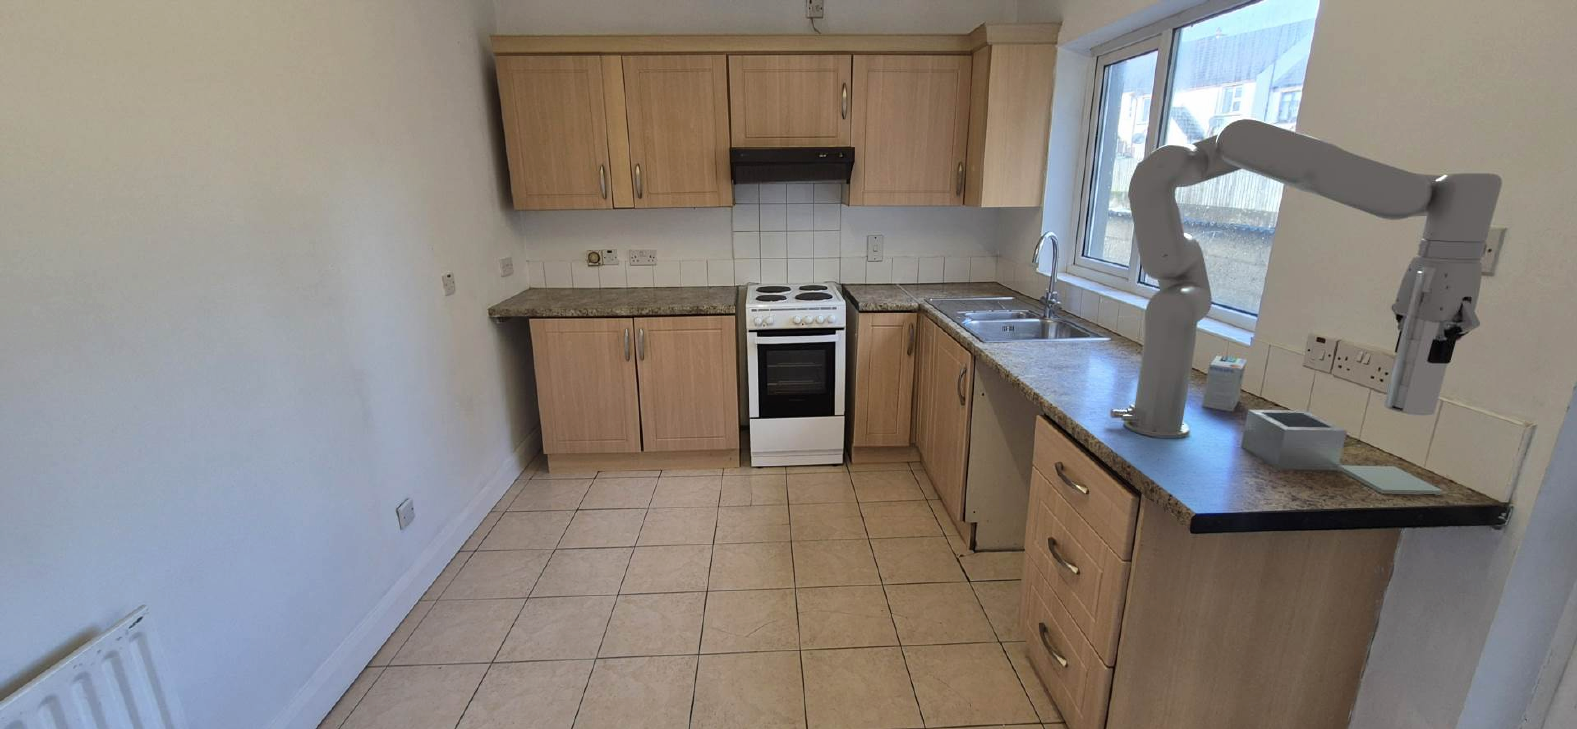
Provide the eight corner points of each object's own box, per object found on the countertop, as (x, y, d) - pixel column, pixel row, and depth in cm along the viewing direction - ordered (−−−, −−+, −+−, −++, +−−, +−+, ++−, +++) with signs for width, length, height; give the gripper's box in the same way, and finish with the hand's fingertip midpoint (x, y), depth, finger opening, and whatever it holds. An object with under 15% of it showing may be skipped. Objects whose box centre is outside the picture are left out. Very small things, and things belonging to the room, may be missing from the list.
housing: (1276, 469, 123) (1285, 429, 121) (1240, 446, 134) (1248, 409, 131) (1337, 470, 122) (1347, 430, 120) (1296, 447, 133) (1304, 410, 131)
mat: (1381, 493, 113) (1382, 489, 113) (1338, 469, 123) (1338, 465, 123) (1441, 494, 113) (1443, 490, 112) (1393, 470, 122) (1394, 466, 122)
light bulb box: (1207, 395, 165) (1215, 354, 163) (1239, 400, 161) (1247, 359, 158) (1200, 406, 157) (1208, 363, 155) (1234, 412, 153) (1242, 368, 150)
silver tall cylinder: (1444, 416, 110) (1484, 268, 103) (1399, 414, 112) (1436, 268, 105) (1416, 404, 116) (1453, 264, 110) (1374, 402, 118) (1408, 263, 111)
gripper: (1382, 246, 115) (1358, 345, 120) (1476, 257, 99) (1444, 371, 103) (1427, 246, 115) (1401, 346, 120) (1528, 257, 98) (1493, 372, 103)
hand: (1421, 356), depth 111 cm, fingers closed on silver tall cylinder, 5 cm apart
